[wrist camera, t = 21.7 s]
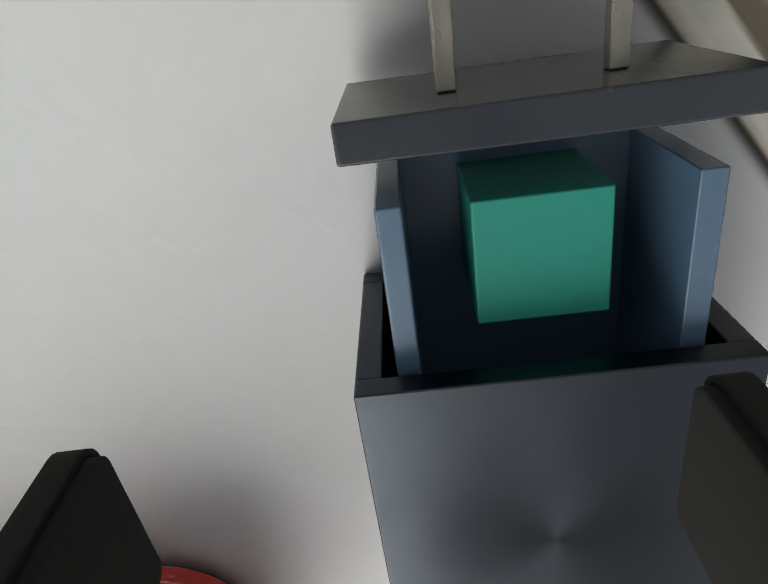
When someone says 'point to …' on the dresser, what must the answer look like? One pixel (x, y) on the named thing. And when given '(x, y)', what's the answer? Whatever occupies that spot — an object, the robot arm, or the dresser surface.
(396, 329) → the pull-out drawer
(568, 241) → the teal cube
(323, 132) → the dresser surface
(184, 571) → the flower pot
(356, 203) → the dresser surface
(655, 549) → the drawer cabinet
